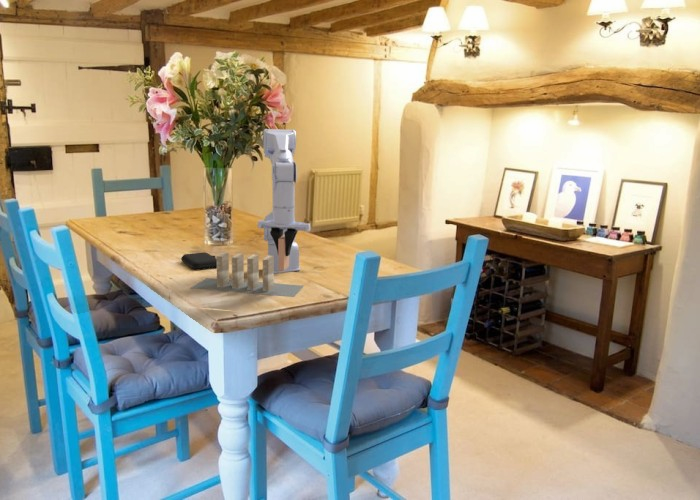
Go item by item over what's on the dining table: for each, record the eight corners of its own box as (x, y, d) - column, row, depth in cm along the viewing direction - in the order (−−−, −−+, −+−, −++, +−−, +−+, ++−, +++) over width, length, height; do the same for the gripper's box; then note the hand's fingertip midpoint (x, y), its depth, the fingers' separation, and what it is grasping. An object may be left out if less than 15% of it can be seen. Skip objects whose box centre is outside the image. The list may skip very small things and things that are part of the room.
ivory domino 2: (232, 288, 164) (231, 257, 162) (238, 283, 169) (238, 253, 167) (237, 288, 164) (237, 257, 162) (243, 283, 169) (243, 253, 167)
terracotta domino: (278, 270, 160) (278, 238, 158) (283, 265, 165) (283, 234, 163) (283, 270, 160) (284, 239, 158) (289, 266, 165) (289, 235, 163)
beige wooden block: (217, 287, 165) (216, 256, 163) (223, 282, 170) (223, 252, 168) (222, 287, 165) (221, 256, 163) (229, 282, 169) (228, 252, 167)
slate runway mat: (190, 289, 163) (190, 288, 163) (206, 278, 174) (206, 277, 174) (293, 297, 158) (294, 296, 158) (304, 286, 169) (304, 285, 169)
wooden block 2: (262, 290, 163) (262, 259, 161) (268, 285, 167) (268, 255, 165) (268, 291, 162) (268, 260, 160) (273, 286, 167) (273, 255, 165)
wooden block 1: (247, 289, 163) (247, 258, 161) (253, 284, 168) (253, 254, 166) (252, 290, 163) (252, 258, 161) (258, 285, 168) (258, 254, 166)
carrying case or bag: (226, 269, 187) (210, 259, 199) (226, 259, 186) (210, 250, 198) (193, 273, 181) (179, 262, 193) (193, 263, 180) (179, 253, 192)
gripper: (253, 207, 156) (254, 256, 159) (306, 210, 154) (305, 260, 157) (262, 203, 163) (262, 250, 166) (312, 206, 161) (311, 254, 164)
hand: (283, 255), depth 162 cm, fingers closed on terracotta domino, 1 cm apart
